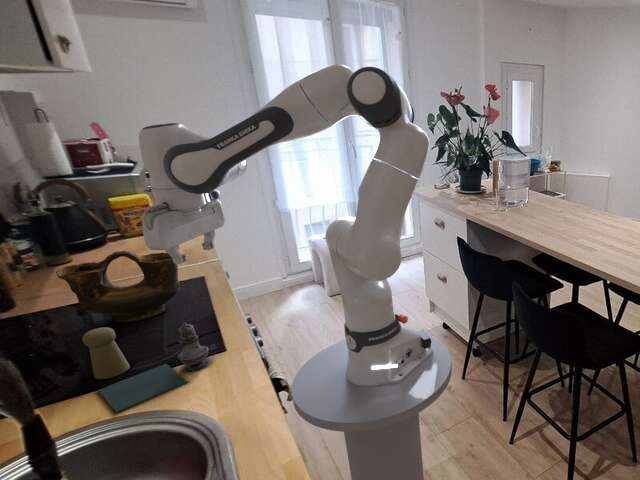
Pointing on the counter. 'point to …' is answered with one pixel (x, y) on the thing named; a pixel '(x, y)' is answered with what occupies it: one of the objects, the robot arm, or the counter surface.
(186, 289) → the counter surface
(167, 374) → the felt mat
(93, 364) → the cork
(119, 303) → the pottery vessel
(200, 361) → the grey stone statuette
